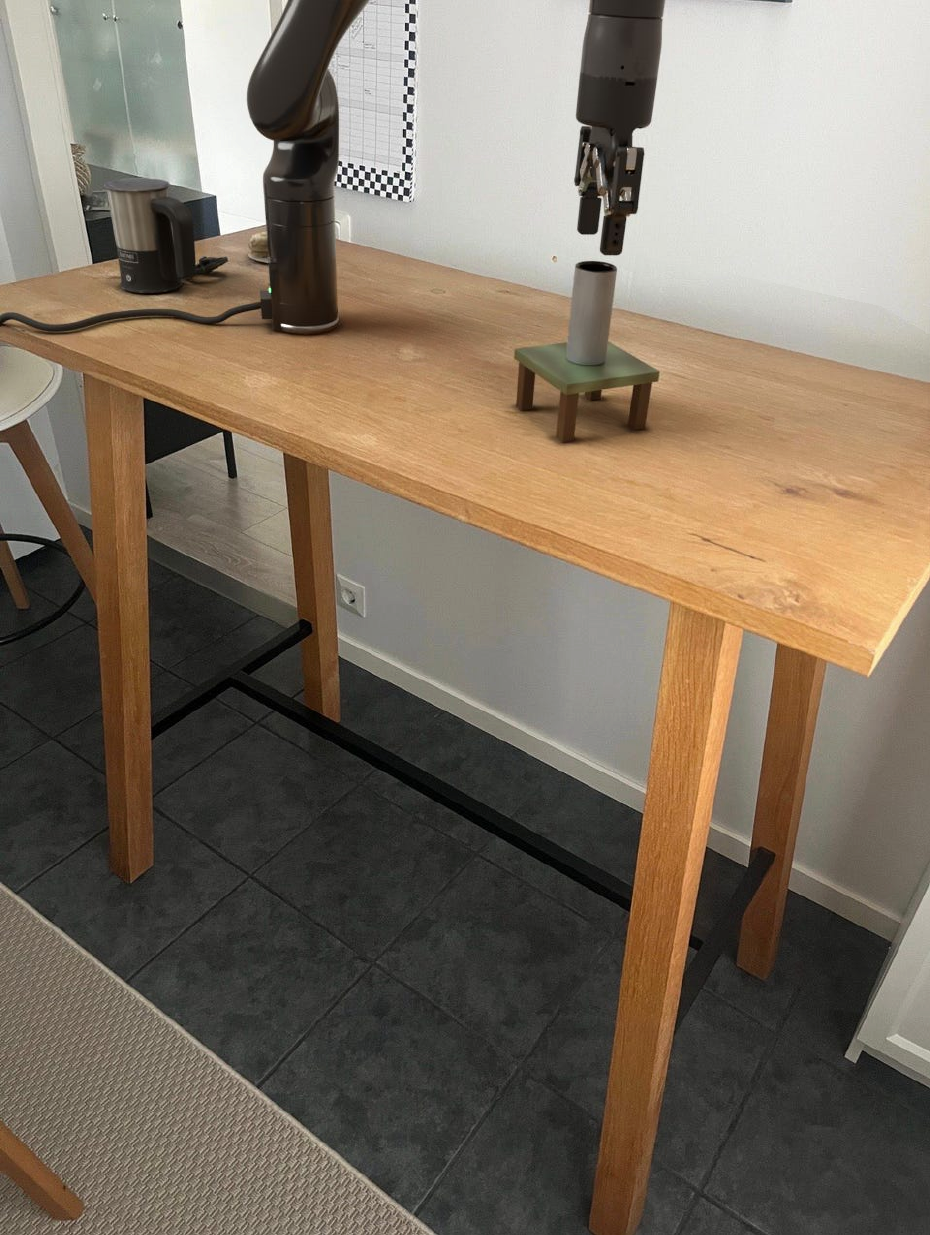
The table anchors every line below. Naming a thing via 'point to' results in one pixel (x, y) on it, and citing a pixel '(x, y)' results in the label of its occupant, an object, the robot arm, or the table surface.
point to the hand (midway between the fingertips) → (598, 243)
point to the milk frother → (153, 236)
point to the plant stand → (583, 382)
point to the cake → (258, 247)
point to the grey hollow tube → (591, 312)
